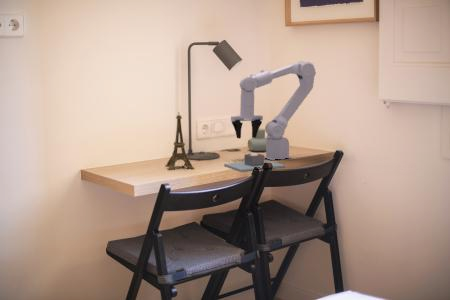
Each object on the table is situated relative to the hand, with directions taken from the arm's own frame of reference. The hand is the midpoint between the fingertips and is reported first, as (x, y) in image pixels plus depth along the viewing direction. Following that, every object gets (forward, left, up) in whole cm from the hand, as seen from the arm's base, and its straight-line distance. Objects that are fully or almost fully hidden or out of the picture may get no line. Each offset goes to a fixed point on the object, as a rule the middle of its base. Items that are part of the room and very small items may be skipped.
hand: (246, 137), depth 285 cm
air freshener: (-17, -18, -10) cm, 27 cm away
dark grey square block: (+5, +16, -9) cm, 19 cm away
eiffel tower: (+32, +3, -10) cm, 34 cm away
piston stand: (+5, +16, -9) cm, 19 cm away
